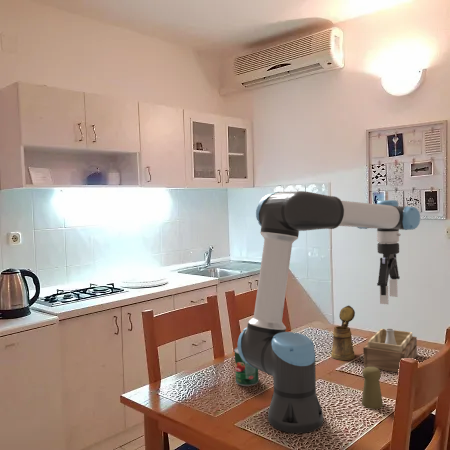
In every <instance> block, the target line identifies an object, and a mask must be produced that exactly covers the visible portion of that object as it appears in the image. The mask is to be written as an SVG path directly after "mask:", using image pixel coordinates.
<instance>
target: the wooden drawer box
mask: <svg viewBox="0 0 450 450" xmlns="http://www.w3.org/2000/svg"><path fill="white" fill-rule="evenodd" d="M417 339H418V338H417V336H414V335H412V340H411V341H410V343H409V344H408V345H407V347H406V348H405V349H404V351H403V352H396V351H389V350H382V349H375V348H368V343H367V344H365V346H363V348H362V349H363V367H364V368H366V367H376V368H378V369H379V370H380V371H385V372H387V371H388V372H392V371H393V373H398V369H399V362H400V359H401V358H414V359H416V357H417V353H418V350H417V348H418V346H417V345H418V343H417ZM415 356H416V357H415Z"/></svg>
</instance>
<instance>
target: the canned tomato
mask: <svg viewBox="0 0 450 450" xmlns="http://www.w3.org/2000/svg"><path fill="white" fill-rule="evenodd" d="M234 368H235V369H234V370H235V371H234V372H235V383H236V384H237V385H238V386H243V387H250V386H251V385H252V386H255V385H258V383H259V382H260V379H259V369H256V368H253V367H251V366H250V365H249V364H247V363H246V362H244V361H243V360H242V358H241V357H240V355H239V352H238V346H237V347H235V348H234ZM252 386H251V387H252Z"/></svg>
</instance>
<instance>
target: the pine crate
mask: <svg viewBox="0 0 450 450" xmlns="http://www.w3.org/2000/svg"><path fill="white" fill-rule="evenodd" d="M386 329H387V328H380V329H379V330H378V331H377V332H376V333H375V334H373V336H372V337H371V338H369V340H367V344H368V348H375V349H382V350H389V351H396V352H403V351H404V349H405V348H406V347H407V345H408V344H409V343H410V341H411V340H412V336H413V332H412V331H406V330H396V329H395V331H394V337H395V341H396V344H397V345H393V344H386V343H385V341H386V336H387V331H386Z"/></svg>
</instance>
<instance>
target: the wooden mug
mask: <svg viewBox="0 0 450 450" xmlns="http://www.w3.org/2000/svg"><path fill="white" fill-rule="evenodd" d="M355 314H356V312H355V309H354V307H352V306H351V305H346V306H344V307H342V308H341V309H340V311H339V319H340V320H341V325H337V326H334V327H333V331H332V336H333V337H332V347H331V354H330V355H331V356H330V357H331V358H333V359H335V360H339V361H349V360H354V359H355V358H356V357H355V356H356V355H355V351H354V346H353V340H352V339H353V338H352V330H351V328H350V327H349V323H350V322H351V321H353V320H354V318H355V316H356V315H355Z"/></svg>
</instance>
